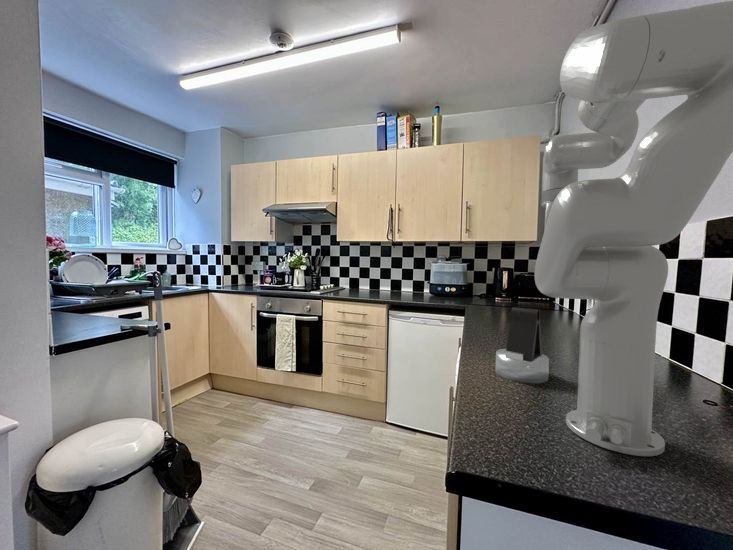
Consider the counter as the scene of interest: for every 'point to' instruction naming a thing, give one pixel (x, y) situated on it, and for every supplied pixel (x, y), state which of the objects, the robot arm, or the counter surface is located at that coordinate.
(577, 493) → the counter surface
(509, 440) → the counter surface
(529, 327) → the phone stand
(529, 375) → the grey short round piece
